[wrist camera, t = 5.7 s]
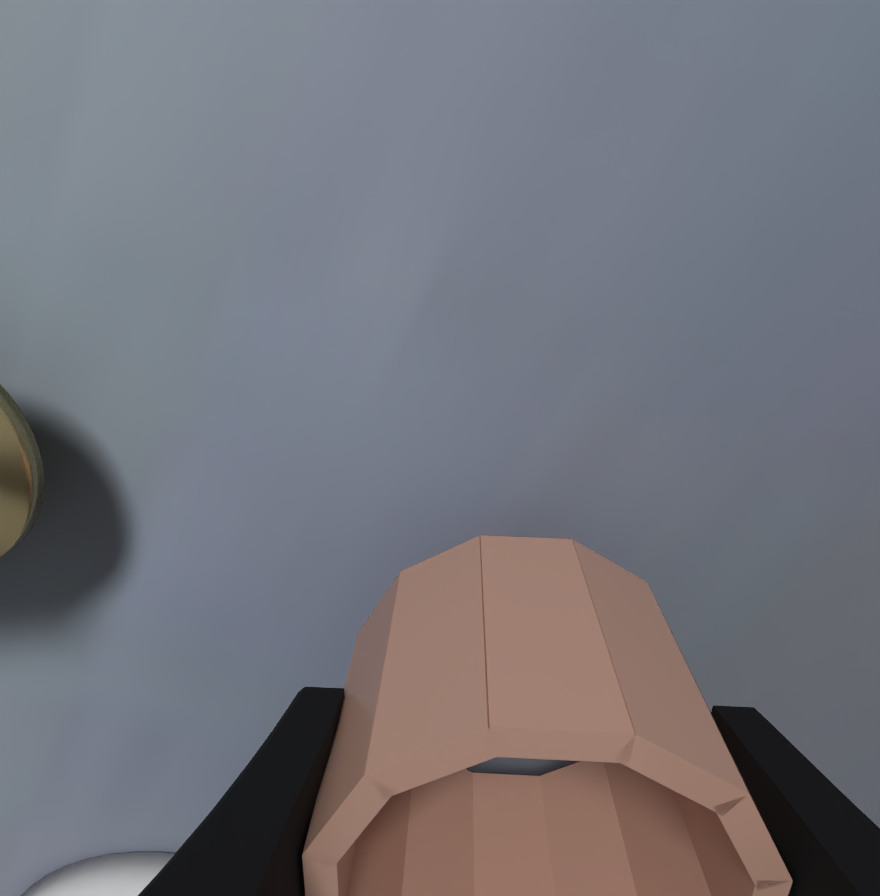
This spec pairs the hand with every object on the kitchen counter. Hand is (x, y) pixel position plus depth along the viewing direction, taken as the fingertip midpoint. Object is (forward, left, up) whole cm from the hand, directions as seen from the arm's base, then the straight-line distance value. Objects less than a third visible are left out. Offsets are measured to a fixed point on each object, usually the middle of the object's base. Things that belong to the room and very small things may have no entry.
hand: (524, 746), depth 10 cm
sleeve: (0, 0, -2) cm, 2 cm away
